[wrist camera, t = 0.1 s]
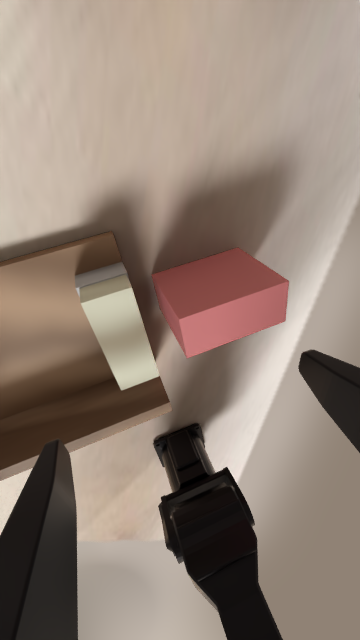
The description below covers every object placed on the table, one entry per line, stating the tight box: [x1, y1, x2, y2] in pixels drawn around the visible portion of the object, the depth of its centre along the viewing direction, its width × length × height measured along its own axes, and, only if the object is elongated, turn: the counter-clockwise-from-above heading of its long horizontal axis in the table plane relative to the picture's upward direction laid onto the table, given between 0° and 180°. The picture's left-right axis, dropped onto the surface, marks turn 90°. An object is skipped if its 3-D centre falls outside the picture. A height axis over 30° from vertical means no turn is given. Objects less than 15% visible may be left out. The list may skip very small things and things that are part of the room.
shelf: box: [0, 231, 172, 481], centre depth 20 cm, size 14×17×6 cm
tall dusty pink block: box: [152, 248, 289, 358], centre depth 22 cm, size 4×8×7 cm, turn 100°
